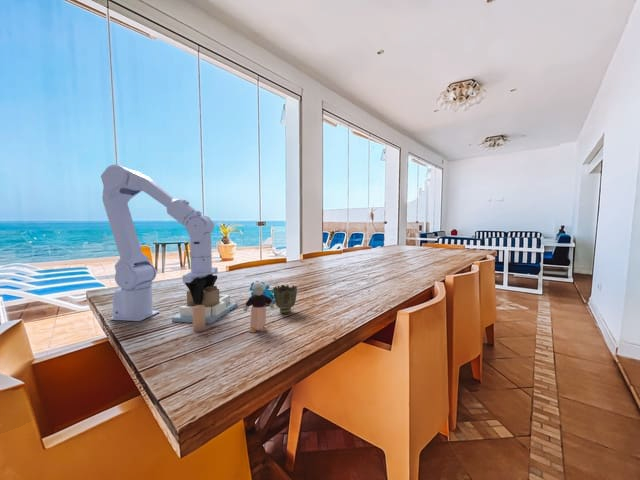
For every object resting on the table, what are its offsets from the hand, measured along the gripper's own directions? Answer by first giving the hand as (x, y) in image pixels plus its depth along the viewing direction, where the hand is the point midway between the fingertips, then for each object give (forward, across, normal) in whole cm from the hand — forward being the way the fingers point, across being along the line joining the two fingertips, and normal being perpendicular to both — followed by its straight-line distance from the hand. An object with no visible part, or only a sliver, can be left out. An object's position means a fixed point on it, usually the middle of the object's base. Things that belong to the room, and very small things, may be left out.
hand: (202, 301), depth 78 cm
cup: (+5, +6, -24) cm, 25 cm away
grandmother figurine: (+5, -8, -21) cm, 23 cm away
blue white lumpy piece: (+5, +15, -14) cm, 21 cm away
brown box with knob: (+2, 0, 0) cm, 3 cm away
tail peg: (+4, -10, -5) cm, 12 cm away
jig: (+4, +2, 0) cm, 5 cm away
